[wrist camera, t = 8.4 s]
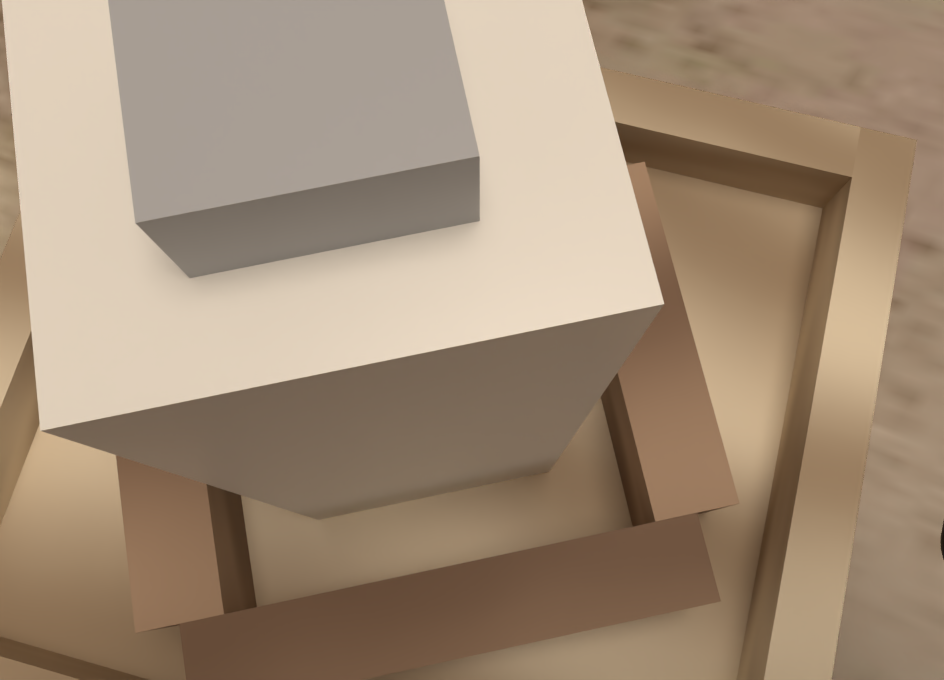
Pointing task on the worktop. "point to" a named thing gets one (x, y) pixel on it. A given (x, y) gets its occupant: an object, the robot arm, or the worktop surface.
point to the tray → (536, 496)
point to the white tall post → (323, 239)
